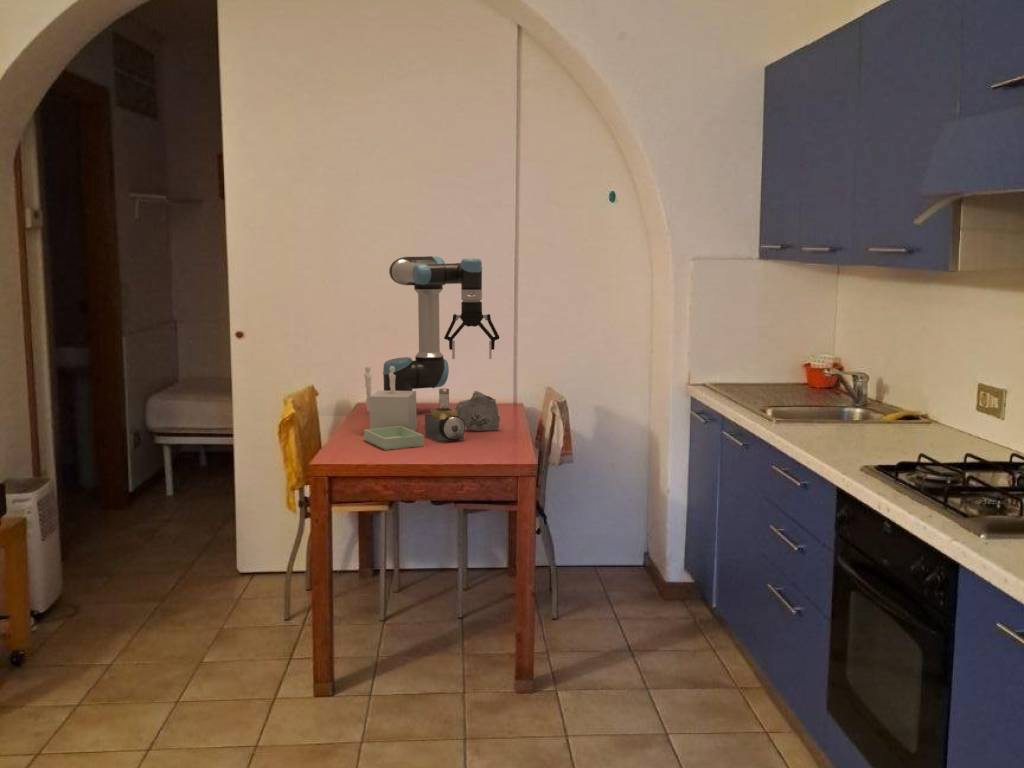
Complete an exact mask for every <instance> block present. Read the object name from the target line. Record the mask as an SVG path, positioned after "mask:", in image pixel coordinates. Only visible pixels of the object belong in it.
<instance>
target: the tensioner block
mask: <svg viewBox="0 0 1024 768" xmlns="http://www.w3.org/2000/svg"><path fill="white" fill-rule="evenodd" d="M430 410H431V411H430V412H431V414H424V434H425V435H424V437H425V436H426V438H428V439H430V438H431V439H430V440H433V441H435V440H436V441H435V442H437V441H438V442H437V443H442V442H441V441H445V442H451V441H450V440H455V441H461V440H460V439H464V440H465V429H466V427H465V423H464V418H463V417H460V416H458V415H457V410H455V408H451V407H449V410H448V411H439V407H438V408H431V409H430Z"/></svg>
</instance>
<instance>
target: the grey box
mask: <svg viewBox="0 0 1024 768" xmlns="http://www.w3.org/2000/svg"><path fill="white" fill-rule="evenodd" d="M364 370H365V373H364V374H363V375H364V380H365V386H364V387H365V388H366V389H365V390H366V391H365V392H366V399H365V405H366V408H367V409H366V411H367V412H369V429H376V428H386V427H396V426H403V427H405V428H408V429H410V430H413V431H414V430H415V429H416V428H418V427H417V425H418V424H417V421H418V420H417V415H416V409H417V391H416V390H412V391H395V378H396V377H395V376H396V375H394V374H393V372H395V367H394V366H391V367H390V368H389V370H390V373H389V378H390V388H391V391H384V390H380V389H379V390H377V391H376V392H374V393H373V394H372V385H371V384H372V377H373V375H372V374H371V373H370V372H371V370H372V369H371V366H369V365H366V366H365V367H364ZM416 430H417V429H416ZM416 430H415V431H416Z"/></svg>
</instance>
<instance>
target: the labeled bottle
mask: <svg viewBox="0 0 1024 768" xmlns="http://www.w3.org/2000/svg"><path fill="white" fill-rule="evenodd" d="M438 395H439V396H438V404H439V405H438V408H439V411H448V410H449V408H450V389H449V388H438Z"/></svg>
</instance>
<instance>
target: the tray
mask: <svg viewBox="0 0 1024 768" xmlns="http://www.w3.org/2000/svg"><path fill="white" fill-rule="evenodd" d="M363 431H364V432H363V434H364V435H363V438H364V440H365V441H364V442H366V441H367V442H366V443H368V442H370V443H371V445H373V444H374V445H373V446H375V445H376V446H375V447H377V446H378V447H377V448H379V447H380V449H381V448H382V449H381V450H383V449H384V451H385V450H386V451H390V450H389V449H395V450H399V449H398V448H404V449H410V448H409V447H413V448H419V447H420V446H422V447H424V446H425V435H424V434H422V433H419V432H418V431H416V430H415V431H413V430H410V429H408V428H405V427H403V426H396V427H386V428H376V429H370V428H368V429H364V430H363ZM370 443H369V444H370ZM420 448H421V447H420Z"/></svg>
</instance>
